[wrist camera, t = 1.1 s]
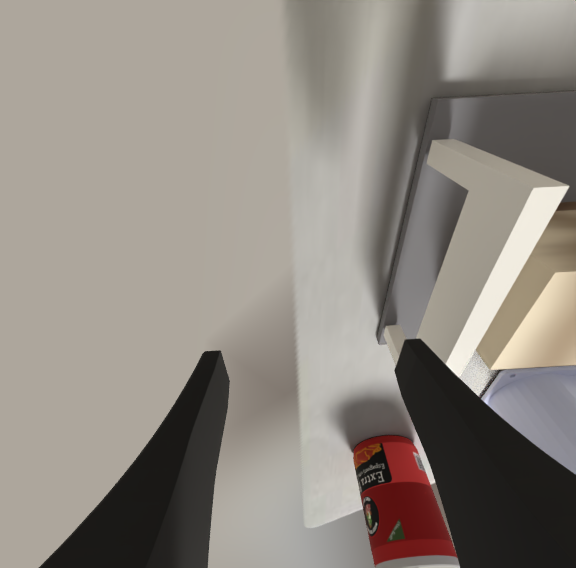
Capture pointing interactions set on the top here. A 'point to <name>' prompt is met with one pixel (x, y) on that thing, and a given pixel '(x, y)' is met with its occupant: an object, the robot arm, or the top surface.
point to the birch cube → (539, 304)
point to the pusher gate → (480, 248)
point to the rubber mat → (451, 196)
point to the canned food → (401, 506)
